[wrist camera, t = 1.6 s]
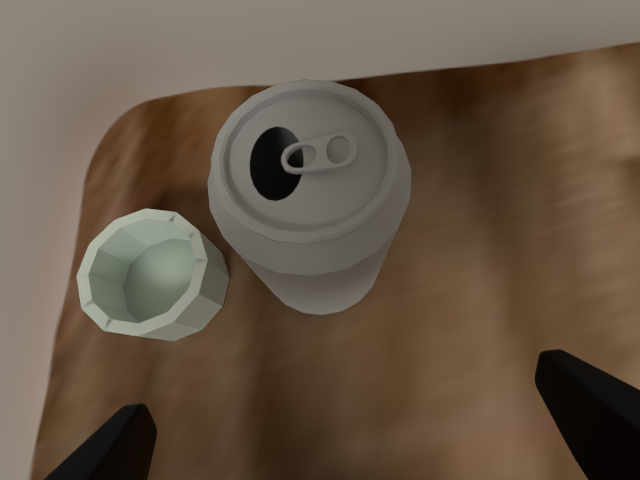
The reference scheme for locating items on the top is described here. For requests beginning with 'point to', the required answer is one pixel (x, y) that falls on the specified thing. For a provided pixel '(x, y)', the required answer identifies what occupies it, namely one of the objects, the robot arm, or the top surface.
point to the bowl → (152, 277)
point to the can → (310, 191)
